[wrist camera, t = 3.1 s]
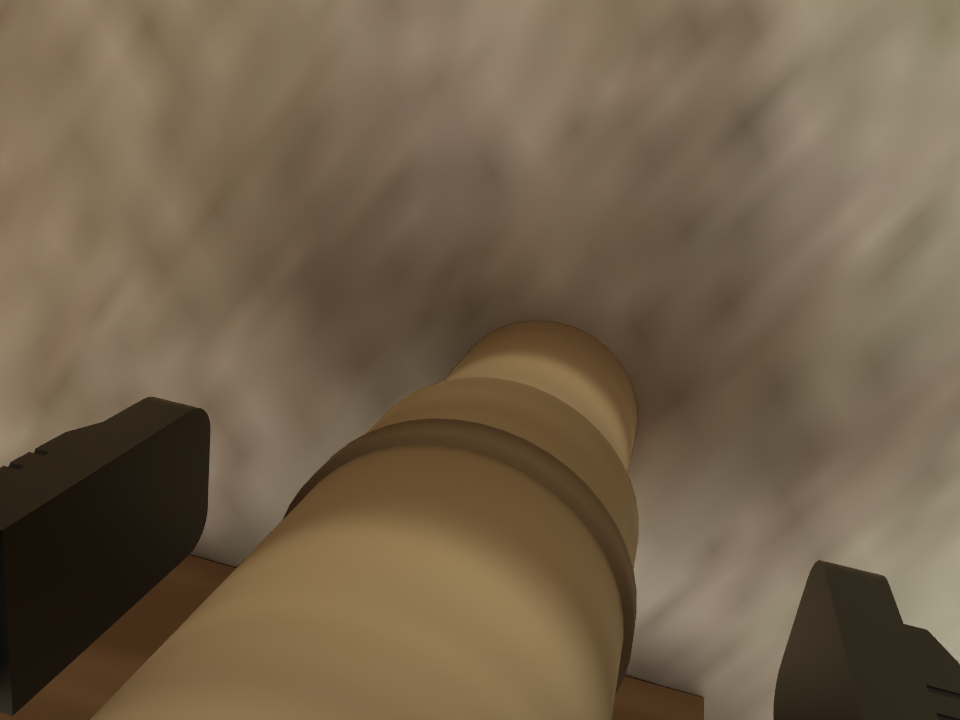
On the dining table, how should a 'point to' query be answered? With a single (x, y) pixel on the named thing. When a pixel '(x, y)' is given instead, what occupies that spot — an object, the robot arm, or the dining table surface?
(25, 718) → the seat block
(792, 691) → the robot arm
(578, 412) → the peg
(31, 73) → the dining table surface
